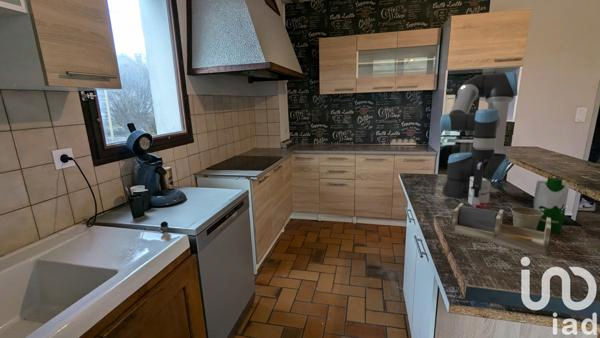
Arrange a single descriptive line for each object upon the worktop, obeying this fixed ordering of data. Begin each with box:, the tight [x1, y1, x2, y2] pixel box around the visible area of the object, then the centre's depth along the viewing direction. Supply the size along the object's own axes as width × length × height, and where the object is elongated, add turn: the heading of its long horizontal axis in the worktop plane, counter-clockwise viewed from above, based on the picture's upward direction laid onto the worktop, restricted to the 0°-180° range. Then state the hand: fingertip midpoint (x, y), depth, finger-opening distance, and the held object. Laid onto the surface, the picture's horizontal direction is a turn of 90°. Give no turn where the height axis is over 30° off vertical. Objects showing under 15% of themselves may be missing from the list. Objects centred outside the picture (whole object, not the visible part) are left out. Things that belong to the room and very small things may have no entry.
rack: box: [450, 202, 551, 257], centre depth 98 cm, size 12×27×9 cm, turn 48°
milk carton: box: [532, 177, 570, 234], centre depth 104 cm, size 9×9×20 cm
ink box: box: [467, 177, 492, 210], centre depth 114 cm, size 9×5×12 cm, turn 168°
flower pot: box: [510, 206, 544, 231], centre depth 101 cm, size 9×9×9 cm
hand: (478, 200), depth 115 cm, fingers closed on ink box, 9 cm apart
